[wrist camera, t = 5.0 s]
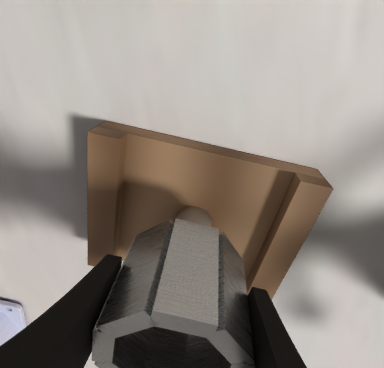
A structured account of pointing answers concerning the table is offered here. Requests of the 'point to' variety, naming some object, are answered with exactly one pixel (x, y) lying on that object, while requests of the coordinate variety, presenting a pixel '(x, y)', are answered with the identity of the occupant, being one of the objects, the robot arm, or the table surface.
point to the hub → (176, 303)
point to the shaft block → (199, 197)
